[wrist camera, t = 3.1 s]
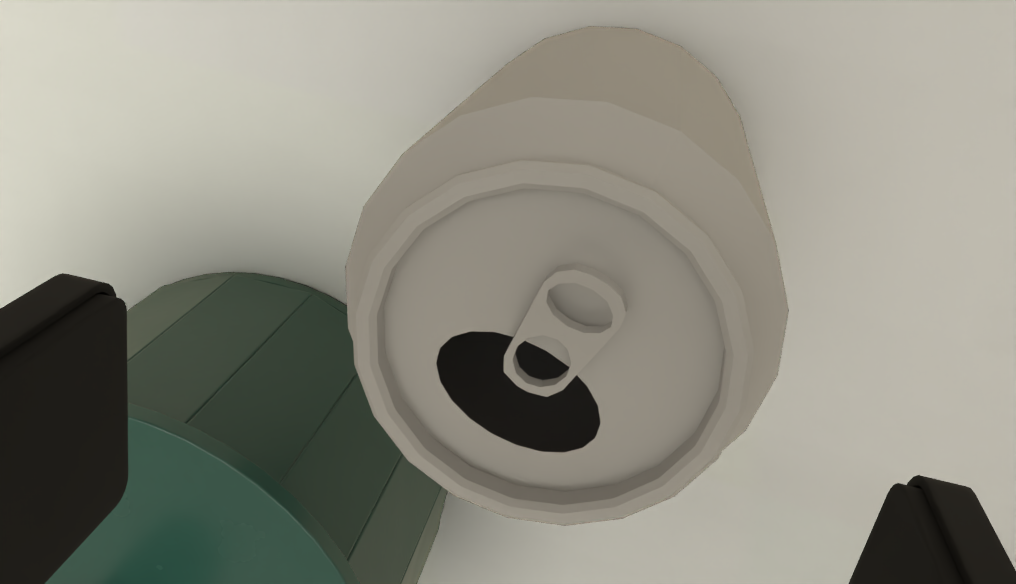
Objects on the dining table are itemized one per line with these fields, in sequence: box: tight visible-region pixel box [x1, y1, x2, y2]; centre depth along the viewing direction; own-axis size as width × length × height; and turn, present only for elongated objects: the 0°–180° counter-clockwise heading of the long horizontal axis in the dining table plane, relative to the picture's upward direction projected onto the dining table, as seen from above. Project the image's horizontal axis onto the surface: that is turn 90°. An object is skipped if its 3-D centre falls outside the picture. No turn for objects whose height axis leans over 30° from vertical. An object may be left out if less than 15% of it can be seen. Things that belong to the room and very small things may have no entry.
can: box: [345, 26, 789, 526], centre depth 19 cm, size 8×8×12 cm
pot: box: [127, 272, 447, 584], centre depth 26 cm, size 13×13×8 cm
